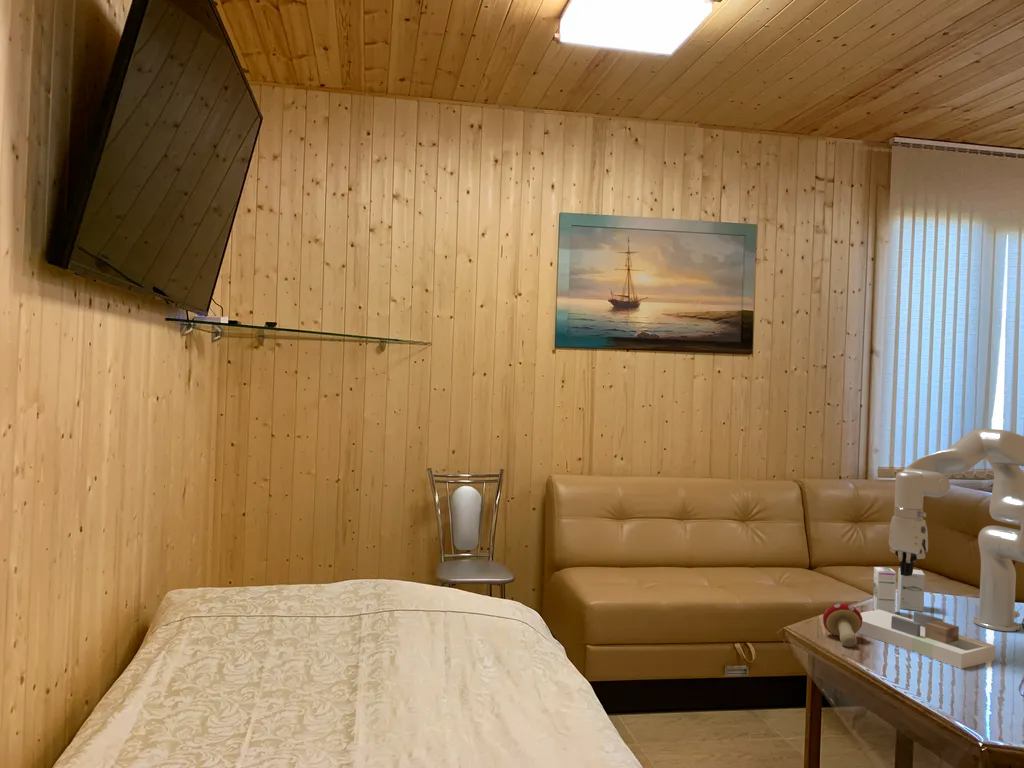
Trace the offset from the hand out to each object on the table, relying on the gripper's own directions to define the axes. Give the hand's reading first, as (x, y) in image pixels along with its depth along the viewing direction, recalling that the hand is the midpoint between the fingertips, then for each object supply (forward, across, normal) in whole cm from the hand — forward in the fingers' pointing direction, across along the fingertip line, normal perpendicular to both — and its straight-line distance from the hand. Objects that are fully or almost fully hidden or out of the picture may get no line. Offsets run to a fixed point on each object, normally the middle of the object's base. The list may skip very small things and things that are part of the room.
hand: (906, 575), depth 230 cm
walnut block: (+15, -12, +1) cm, 19 cm away
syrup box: (+19, +20, -18) cm, 33 cm away
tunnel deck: (+19, -4, 0) cm, 20 cm away
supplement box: (+20, +20, -32) cm, 43 cm away
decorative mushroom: (+19, +7, +19) cm, 28 cm away
